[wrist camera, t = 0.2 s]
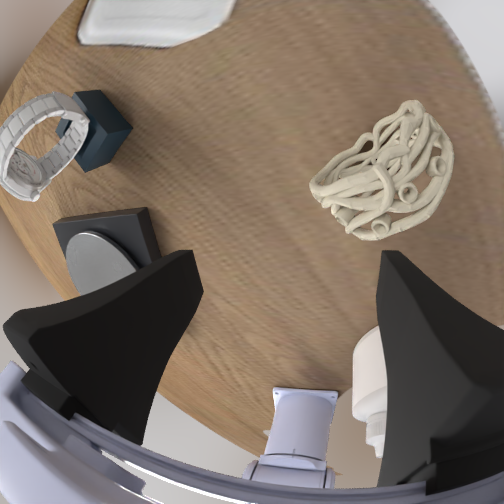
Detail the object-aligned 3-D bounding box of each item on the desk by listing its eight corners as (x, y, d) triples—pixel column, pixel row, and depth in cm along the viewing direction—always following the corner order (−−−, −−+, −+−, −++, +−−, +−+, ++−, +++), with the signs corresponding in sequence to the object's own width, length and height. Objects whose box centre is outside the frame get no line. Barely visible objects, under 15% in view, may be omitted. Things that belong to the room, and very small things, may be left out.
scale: (186, 327, 29) (180, 337, 28) (99, 311, 33) (92, 318, 32) (147, 206, 22) (136, 213, 21) (59, 218, 26) (50, 224, 25)
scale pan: (167, 332, 27) (165, 336, 26) (94, 316, 30) (91, 319, 30) (128, 227, 21) (124, 230, 21) (56, 233, 25) (53, 235, 24)
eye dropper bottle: (342, 336, 24) (334, 455, 14) (397, 315, 21) (414, 438, 11) (358, 361, 25) (354, 468, 15) (408, 343, 23) (422, 453, 12)
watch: (71, 139, 21) (-20, 176, 12) (110, 74, 17) (-2, 86, 8) (100, 177, 22) (7, 228, 13) (145, 113, 18) (26, 140, 9)
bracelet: (429, 140, 14) (489, 166, 7) (348, 211, 18) (359, 275, 12) (391, 94, 13) (437, 85, 7) (309, 170, 18) (298, 213, 11)
